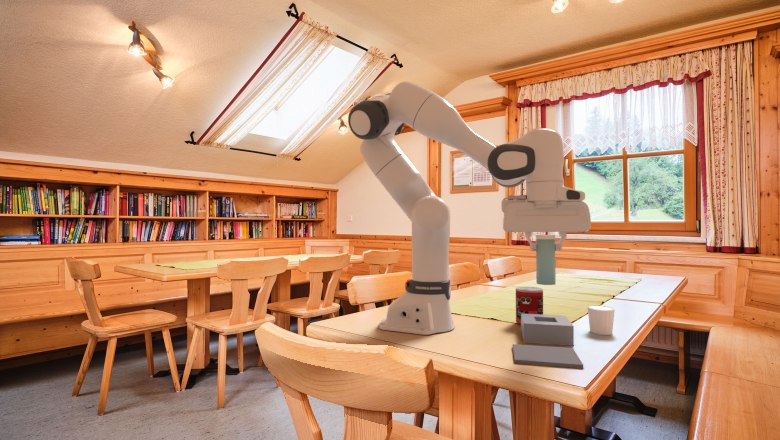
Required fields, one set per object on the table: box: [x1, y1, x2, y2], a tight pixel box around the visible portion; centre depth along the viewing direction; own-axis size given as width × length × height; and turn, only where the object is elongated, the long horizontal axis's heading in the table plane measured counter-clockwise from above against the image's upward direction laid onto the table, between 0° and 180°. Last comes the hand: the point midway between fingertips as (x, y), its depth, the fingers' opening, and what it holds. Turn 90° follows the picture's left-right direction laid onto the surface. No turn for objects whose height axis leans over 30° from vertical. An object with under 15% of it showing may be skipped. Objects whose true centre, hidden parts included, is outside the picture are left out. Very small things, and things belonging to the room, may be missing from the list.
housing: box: [520, 314, 575, 347], centre depth 111 cm, size 12×12×5 cm
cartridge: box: [535, 234, 557, 286], centre depth 101 cm, size 4×4×12 cm
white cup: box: [587, 305, 616, 336], centre depth 117 cm, size 7×7×7 cm
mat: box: [512, 343, 584, 370], centre depth 95 cm, size 14×12×1 cm
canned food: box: [515, 286, 544, 326], centre depth 126 cm, size 8×8×11 cm
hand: (545, 250), depth 101 cm, fingers closed on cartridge, 4 cm apart
